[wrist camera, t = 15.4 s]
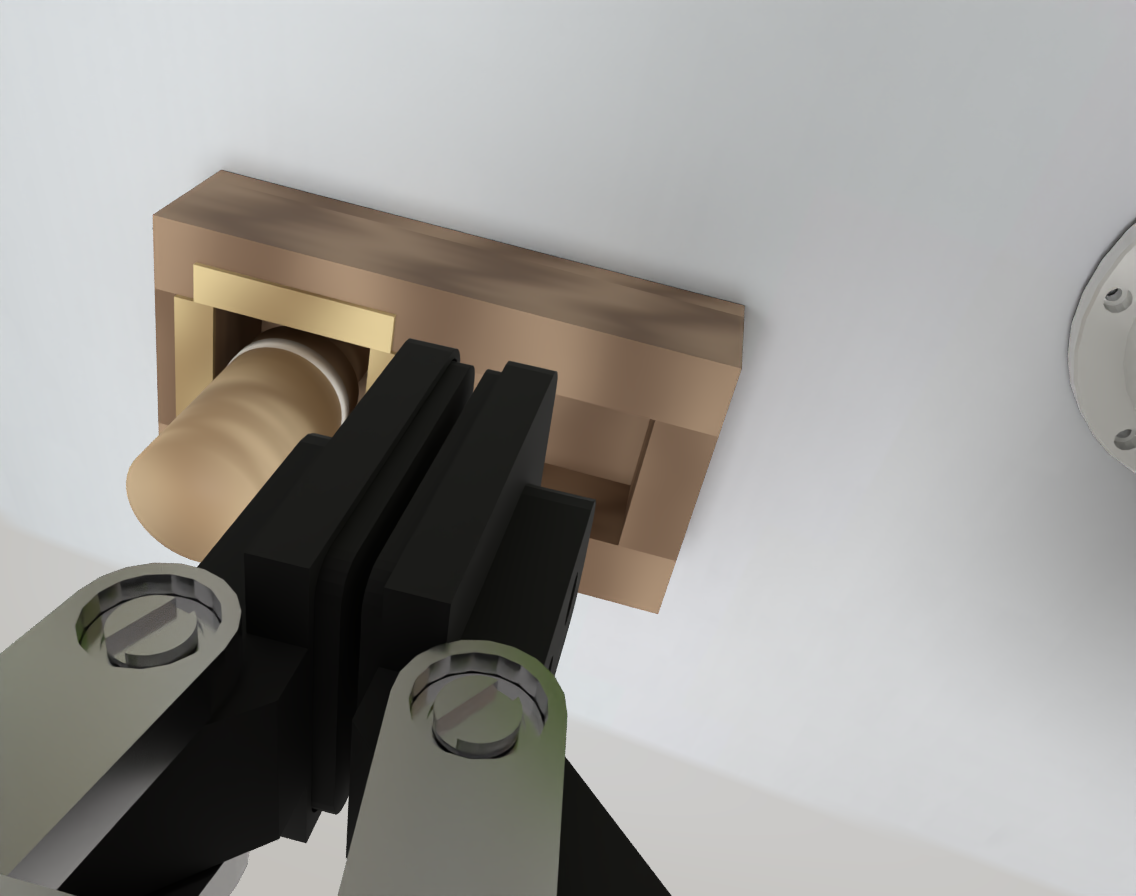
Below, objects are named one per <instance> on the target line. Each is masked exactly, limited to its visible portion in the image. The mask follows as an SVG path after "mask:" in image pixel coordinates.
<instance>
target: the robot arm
mask: <svg viewBox="0 0 1136 896" xmlns="http://www.w3.org/2000/svg"><path fill="white" fill-rule="evenodd" d="M1117 288H1118V291H1117V292H1116V293H1115V294H1113V295H1111V296H1106V295H1107V294H1108V293H1109V292H1110V291H1112V290H1114V289H1117ZM1067 356H1068V366H1069V376H1070V385H1071V388H1072V390H1073V393H1074V396H1075V399H1076V402H1077V404H1078V407H1079V410H1080V412H1081V414H1082V416H1083V417H1084V419H1085V421H1086V423H1087V424H1088V426H1089V428H1090V430H1091V432H1092V434H1093V435H1094V437H1095V438H1096V439H1097V440H1098V441H1099V443H1100V444H1101V445H1102V446H1103V448H1104V449H1105V450H1106V451H1107V452H1108V453H1109V454H1110V455H1111V456H1112V457H1113V458H1115V459H1116V460H1117V461H1119V462H1120V463H1121V464H1123V465H1124V466H1125V467H1127V468H1128V469H1130V470H1131V471H1132V472H1134V473H1135V474H1136V223H1135V224H1134V225H1133V226H1131V227H1130V228H1129V229H1128V230H1127V231H1126V232H1125V233H1124V235H1123V236H1122V237H1121V238H1120V239H1119V240H1118V242H1117V243H1116V244H1115V245H1114V246H1113V248H1112V249H1111V250H1110V251H1109V252H1108V253H1107V255H1106V256H1105V257H1104V258H1103V259H1102V261H1101V262H1100V264H1099V266H1098V267H1097V269H1096V271H1095V273H1094V274H1093V276H1092V278H1091V279H1090V281H1089V283H1088V284H1087V286H1086V288H1085V289H1084V291H1083V293H1082V296H1081V299H1080V302H1079V305H1078V307H1077V310H1076V313H1075V316H1074V318H1073V321H1072V324H1071V332H1070V339H1069V347H1068V354H1067ZM474 380H475V368H474V366H473V365H468V364H464V363H460V352H459V350H458V349H456V348H452V347H447V346H443V345H438V344H434V343H429V342H425V341H421V340H416V339H411V338H409V339H408V340H407V341H405V343H404V344H403V345H402V347H401V348H400V349H399V351H398V352H397V353H396V354H395V356H394V357H393V358H392V360H391V361H390V362H389V364H388V365H387V366H386V368H385V369H384V370H383V371H382V373H381V374H380V375H379V377H378V378H377V379H376V381H375V382H374V383H373V384H372V386H371V387H370V388H369V390H368V391H367V392H366V394H365V395H364V396H363V398H362V399H361V400H360V401H359V403H358V404H357V405H356V407H355V408H354V409H353V411H352V412H351V413H350V415H349V416H348V417H347V418H346V420H345V421H344V422H343V424H342V425H341V426H340V428H339V429H338V430H337V431H336V433H335V434H334V435H333V437H329V436H325V435H321V434H316V433H311V434H307V435H306V436H305V437H304V438H302V439H301V440H300V441H299V443H298V444H297V445H296V446H295V447H294V449H293V450H292V451H291V452H290V454H289V455H288V456H287V457H286V458H285V460H284V461H283V462H282V463H281V465H280V466H279V467H278V468H277V470H276V471H275V472H274V473H273V474H272V476H271V477H270V478H269V479H268V481H267V482H266V483H265V484H264V486H263V487H262V488H261V489H260V490H259V492H258V493H257V494H256V495H255V497H254V498H253V499H252V500H251V501H250V503H249V504H248V505H247V506H246V508H245V509H244V510H243V511H242V513H241V514H240V515H239V516H238V517H237V519H236V520H235V521H234V522H233V524H232V525H231V526H230V527H229V529H228V530H227V531H226V532H225V533H224V535H223V536H222V537H221V538H220V540H219V541H218V542H217V543H216V545H215V546H214V547H213V548H212V549H211V551H210V552H209V553H208V554H207V556H206V557H205V558H204V559H203V560H202V562H201V563H200V564H199V565H198V567H193V566H189V565H185V564H179V563H149V564H143V565H137V566H131V567H126V568H123V569H120V570H117V571H115V572H112V573H109V574H106V575H104V576H101V577H99V578H97V579H96V580H94V581H93V582H91V583H90V584H88V585H86V586H85V587H83V588H82V589H80V590H78V591H77V592H76V593H75V594H73V595H72V596H71V597H70V598H68V599H67V600H66V601H65V602H63V603H62V604H61V605H60V606H59V607H57V608H56V609H55V610H54V611H52V612H51V613H50V614H49V615H47V616H46V617H45V618H44V619H43V620H41V621H40V622H39V623H37V624H36V625H35V626H34V627H33V628H31V629H30V630H29V631H28V632H26V633H25V634H24V635H23V636H22V637H20V638H19V639H18V640H16V641H15V642H14V643H13V644H12V645H10V646H9V647H8V648H7V649H5V650H4V651H3V652H2V653H0V896H229V895H230V894H231V893H232V891H233V890H234V888H235V887H236V886H237V884H238V882H239V880H240V878H241V876H242V875H243V873H244V871H245V869H246V867H247V864H248V857H249V851H251V850H254V849H256V848H258V847H261V846H263V845H266V844H268V843H270V842H273V841H275V840H277V839H279V838H280V836H281V837H285V838H289V839H293V840H296V841H300V842H304V843H306V842H307V841H308V839H309V836H310V835H311V832H312V830H313V828H314V826H315V824H316V822H317V820H318V818H319V816H320V814H321V812H322V811H325V812H328V813H332V814H338V813H339V812H340V811H341V810H342V808H343V806H344V804H345V802H346V800H347V798H348V796H349V802H348V826H347V846H346V858H347V861H346V865H345V870H344V873H343V877H342V881H341V885H340V889H339V892H338V896H671V894H670V893H669V892H668V891H667V889H666V888H665V887H664V885H663V884H662V883H661V881H660V880H659V879H658V877H657V876H656V875H655V873H654V872H653V871H652V870H651V869H650V867H649V866H648V864H647V863H646V862H645V861H644V859H643V858H642V857H641V855H640V854H639V853H638V851H637V850H636V849H635V847H634V846H633V845H632V843H630V841H629V839H628V838H627V837H626V836H625V834H624V833H623V832H622V830H621V829H620V828H619V826H618V825H617V824H616V822H615V821H614V820H613V818H612V817H611V816H610V815H609V813H608V812H607V811H606V809H605V808H604V807H603V805H602V804H601V803H600V802H599V800H598V799H597V798H596V796H595V795H594V794H593V792H592V791H591V790H590V788H589V787H588V786H587V784H586V783H585V782H584V781H583V779H582V778H581V777H580V775H579V774H578V773H577V771H576V770H575V769H574V768H573V766H572V765H571V764H570V762H569V761H568V760H567V759H566V757H565V748H566V731H567V708H566V701H565V694H564V692H563V691H562V689H561V687H560V685H559V683H558V682H557V680H556V678H555V673H556V669H557V666H558V663H559V659H560V656H561V652H562V649H563V645H564V642H565V638H566V635H567V631H568V628H569V624H570V621H571V617H572V613H573V609H574V605H575V601H576V597H577V593H578V589H579V585H580V580H581V576H582V571H583V567H584V562H585V558H586V553H587V548H588V543H589V538H590V533H591V528H592V523H593V518H594V512H595V506H596V499H592V498H587V497H583V496H579V495H575V494H571V493H566V492H562V491H558V490H554V489H549V488H545V487H541V481H542V475H543V469H544V463H545V456H546V450H547V444H548V438H549V432H550V426H551V420H552V413H553V407H554V401H555V395H556V388H557V380H558V373H557V371H553V370H549V369H545V368H540V367H536V366H531V365H527V364H522V363H518V362H514V361H508V362H507V364H506V365H505V367H504V369H503V371H502V372H499V371H495V370H491V369H487V370H486V371H485V373H484V374H483V376H482V378H481V380H480V381H479V383H478V385H477V387H476V388H475V390H474V392H473V389H474ZM1123 430H1124V431H1123Z"/></svg>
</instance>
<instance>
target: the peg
mask: <svg viewBox="0 0 1136 896" xmlns="http://www.w3.org/2000/svg"><path fill="white" fill-rule="evenodd" d="M369 356H370V348H367V347H364V346H360V345H356V344H352V343H348V342H345V341H341V340H337V339H333V338H329V337H326V336H322V335H318V334H314V333H310V332H307V331H303V330H299V329H295V328H291V327H288V326H279V327H274V328H271V329H268V330H266V331H264V332H262V333H261V334H259V335H258V336H257V337H256V338H255V339H254V340H253V341H252V342H251V343H250V344H249V345H247V346H246V347H244V348H243V349H242V350H241V351H240V352H239V353H238V354H237V355H236V356H235V357H234V358H233V359H232V360H231V361H230V362H229V364H228V365H227V367H226V368H225V369H224V370H223V371H222V372H221V373H220V374H219V375H218V376H217V377H216V378H215V379H214V380H213V381H212V382H211V383H210V384H209V385H208V386H207V387H206V388H205V389H204V390H203V391H202V392H201V393H200V394H199V395H198V396H197V397H196V398H195V399H194V400H193V401H192V402H191V403H190V404H189V405H188V406H187V407H186V408H185V409H184V410H183V411H182V412H181V413H180V414H179V415H178V416H177V417H176V418H175V419H174V420H173V421H172V422H171V423H170V424H169V425H168V426H167V427H166V428H165V429H164V430H163V431H162V433H161V434H160V435H159V436H158V437H157V438H156V439H155V440H154V441H153V442H152V443H151V444H150V445H149V446H148V447H147V448H146V449H145V450H144V451H143V452H142V453H141V454H140V455H139V456H138V457H137V458H136V459H135V460H134V461H133V463H132V465H131V466H130V468H129V471H128V474H127V480H126V490H127V496H128V499H129V503H130V505H131V508H132V510H133V512H134V514H135V515H136V517H137V519H138V520H139V522H140V523H141V524H142V526H143V527H144V528H145V529H146V530H147V531H148V532H149V534H150V535H152V536H153V537H154V538H155V539H156V540H157V541H158V542H160V543H161V544H162V545H164V546H165V547H167V548H168V549H170V550H171V551H173V552H175V553H177V554H179V555H181V556H183V557H186V558H188V559H191V560H194V561H197V562H202V560H203V559H204V558H205V557H206V556H207V554H208V553H209V552H210V551H211V549H212V548H213V547H214V546H215V545H216V543H217V542H218V541H219V540H220V538H221V537H222V536H223V535H224V533H225V532H226V531H227V530H228V529H229V527H230V526H231V525H232V524H233V522H234V521H235V520H236V519H237V517H238V516H239V515H240V514H241V513H242V511H243V510H244V509H245V508H246V506H247V505H248V504H249V503H250V501H251V500H252V499H253V498H254V497H255V495H256V494H257V493H258V492H259V490H260V489H261V488H262V487H263V486H264V484H265V483H266V482H267V481H268V479H269V478H270V477H271V476H272V474H273V473H274V472H275V471H276V470H277V468H278V467H279V466H280V465H281V463H282V462H283V461H284V460H285V458H286V457H287V456H288V455H289V454H290V452H291V451H292V450H293V449H294V447H295V446H296V445H297V444H298V443H299V441H300V440H301V439H302V438H304V437H305V436H306V435H307V434H311V433H316V434H321V435H325V436H329V437H333V435H334V434H335V433H336V431H337V430H338V429H339V428H340V426H341V425H342V424H343V422H344V421H345V420H346V418H347V417H348V416H349V415H350V413H351V412H352V411H353V409H354V408H355V407H356V405H357V403H358V397H359V386H358V383H359V381H360V380H361V379H362V377H363V376H364V375H365V373H366V372H367V371H368V365H369Z"/></svg>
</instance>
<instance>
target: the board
mask: <svg viewBox="0 0 1136 896" xmlns="http://www.w3.org/2000/svg"><path fill="white" fill-rule="evenodd" d="M153 244H154V280H155V316H156V352H157V388H158V424H159V435H160V434H161V433H162V431H163V430H164V429H165V428H166V427H167V426H168V425H169V424H170V423H171V422H172V421H173V420H174V419H175V418H176V417H177V416H178V415H179V414H180V413H181V412H182V411H183V410H184V409H185V408H186V407H187V406H188V405H189V404H190V403H191V402H192V401H193V400H194V399H195V398H196V397H197V396H198V395H199V394H200V393H201V392H202V391H203V390H204V389H205V388H206V387H207V386H208V385H209V384H210V383H211V382H212V381H213V380H214V379H215V378H216V377H217V376H218V375H219V374H220V373H221V372H222V371H223V370H224V369H225V368H226V367H227V365H228V364H229V362H230V361H231V360H232V359H233V358H234V357H235V356H236V355H237V354H238V353H239V352H240V351H241V350H242V349H243V348H244V347H246V346H247V345H249V344H250V343H251V342H252V341H253V340H254V339H255V338H256V337H257V336H258V335H259V334H261V333H262V332H264V331H266V330H268V329H271V328H274V327H279V326H288V327H291V328H295V329H299V330H303V331H307V332H310V333H314V334H318V335H322V336H326V337H329V338H333V339H337V340H341V341H345V342H348V343H352V344H356V345H360V346H364V347H367V348H370V356H369V365H368V371H367V372H366V373H365V375H364V376H363V377H362V379H361V380H360V381H359V383H358V386H359V397H358V403H359V401H360V400H361V399H362V398H363V396H364V395H365V394H366V392H367V391H368V390H369V388H370V387H371V386H372V384H373V383H374V382H375V381H376V379H377V378H378V377H379V375H380V374H381V373H382V371H383V370H384V369H385V368H386V366H387V365H388V364H389V362H390V361H391V360H392V358H393V357H394V356H395V354H396V353H397V352H398V351H399V349H400V348H401V347H402V345H403V344H404V343H405V341H407V340H408V339H409V338H411V339H416V340H421V341H425V342H429V343H434V344H438V345H443V346H447V347H452V348H456V349H458V350H459V352H460V363H464V364H468V365H473V366H474V368H475V380H474V389H473V392H474V390H475V388H476V387H477V385H478V383H479V381H480V380H481V378H482V376H483V374H484V373H485V371H486V370H487V369H491V370H495V371H499V372H502V371H503V369H504V367H505V365H506V364H507V362H508V361H514V362H518V363H522V364H527V365H531V366H536V367H540V368H545V369H549V370H553V371H557V373H558V380H557V388H556V395H555V401H554V407H553V413H552V420H551V426H550V432H549V438H548V444H547V450H546V456H545V463H544V469H543V475H542V481H541V487H545V488H549V489H554V490H558V491H562V492H566V493H571V494H575V495H579V496H583V497H587V498H592V499H596V506H595V512H594V518H593V523H592V528H591V533H590V538H589V543H588V548H587V553H586V558H585V562H584V567H583V571H582V576H581V580H580V585H579V589H578V593H582V594H585V595H589V596H593V597H596V598H600V599H604V600H608V601H611V602H615V603H619V604H622V605H626V606H630V607H634V608H637V609H641V610H645V611H648V612H652V613H656V614H658V612H659V609H660V607H661V604H662V601H663V598H664V595H665V592H666V589H667V586H668V583H669V580H670V577H671V574H672V571H673V568H674V566H675V563H676V560H677V557H678V554H679V551H680V548H681V545H682V542H683V539H684V536H685V533H686V530H687V527H688V524H689V522H690V519H691V516H692V513H693V510H694V507H695V504H696V501H697V498H698V495H699V492H700V489H701V486H702V483H703V480H704V478H705V475H706V472H707V469H708V466H709V463H710V460H711V457H712V454H713V451H714V448H715V445H716V442H717V439H718V437H719V434H720V431H721V428H722V425H723V422H724V419H725V416H726V413H727V410H728V407H729V404H730V401H731V398H732V395H733V393H734V390H735V387H736V384H737V381H738V378H739V375H740V372H741V369H742V351H743V331H744V310H745V306H744V305H740V304H736V303H732V302H728V301H724V300H721V299H717V298H713V297H709V296H705V295H701V294H697V293H694V292H690V291H686V290H682V289H678V288H674V287H670V286H667V285H663V284H659V283H655V282H651V281H647V280H643V279H640V278H636V277H632V276H628V275H624V274H620V273H616V272H612V271H609V270H605V269H601V268H597V267H593V266H589V265H585V264H582V263H578V262H574V261H570V260H566V259H562V258H558V257H555V256H551V255H547V254H543V253H539V252H535V251H531V250H528V249H524V248H520V247H516V246H512V245H508V244H504V243H501V242H497V241H493V240H489V239H485V238H481V237H477V236H474V235H470V234H466V233H462V232H458V231H454V230H450V229H447V228H443V227H439V226H435V225H431V224H427V223H423V222H420V221H416V220H412V219H408V218H404V217H400V216H396V215H393V214H389V213H385V212H381V211H377V210H373V209H369V208H366V207H362V206H358V205H354V204H350V203H346V202H342V201H339V200H335V199H331V198H327V197H323V196H319V195H315V194H311V193H308V192H304V191H300V190H296V189H292V188H288V187H284V186H281V185H277V184H273V183H269V182H265V181H261V180H257V179H254V178H250V177H246V176H242V175H238V174H234V173H230V172H227V171H223V170H220V171H219V172H217V173H216V174H214V175H213V176H211V177H210V178H208V179H207V180H205V181H203V182H202V183H200V184H199V185H197V186H196V187H194V188H193V189H191V190H190V191H188V192H187V193H185V194H184V195H182V196H181V197H179V198H178V199H176V200H175V201H173V202H172V203H170V204H169V205H167V206H165V207H164V208H162V209H161V210H159V211H158V212H156V213H155V214H153ZM358 403H357V404H358Z"/></svg>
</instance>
